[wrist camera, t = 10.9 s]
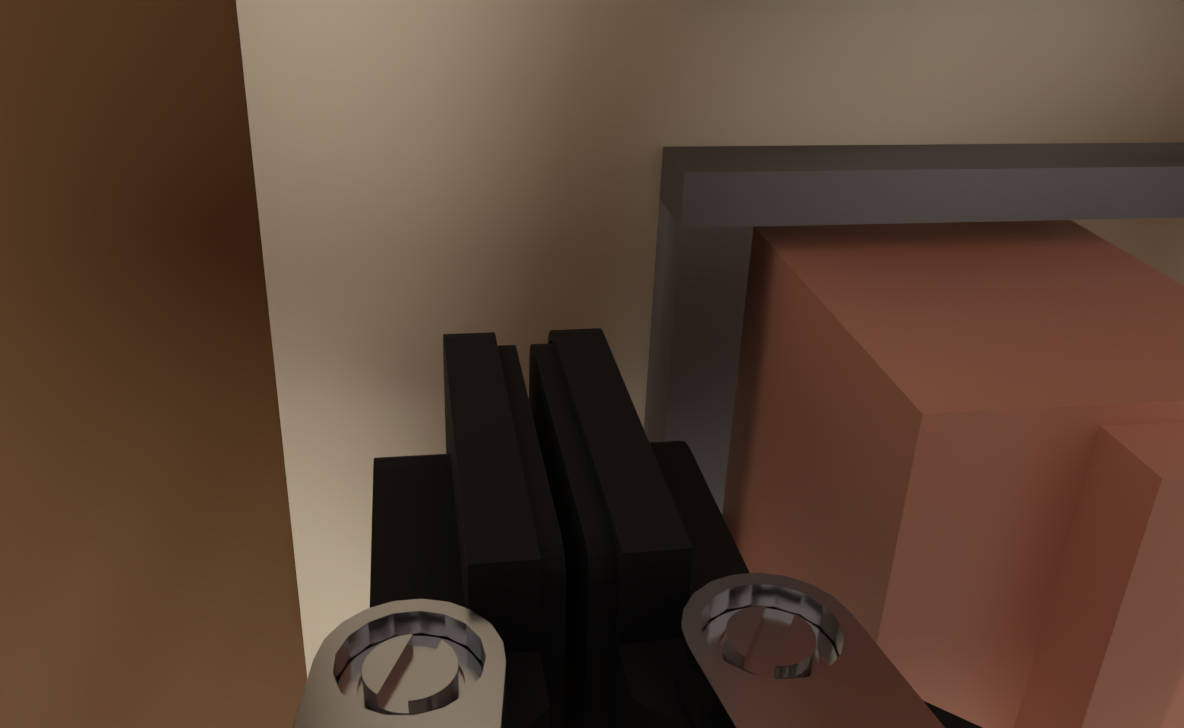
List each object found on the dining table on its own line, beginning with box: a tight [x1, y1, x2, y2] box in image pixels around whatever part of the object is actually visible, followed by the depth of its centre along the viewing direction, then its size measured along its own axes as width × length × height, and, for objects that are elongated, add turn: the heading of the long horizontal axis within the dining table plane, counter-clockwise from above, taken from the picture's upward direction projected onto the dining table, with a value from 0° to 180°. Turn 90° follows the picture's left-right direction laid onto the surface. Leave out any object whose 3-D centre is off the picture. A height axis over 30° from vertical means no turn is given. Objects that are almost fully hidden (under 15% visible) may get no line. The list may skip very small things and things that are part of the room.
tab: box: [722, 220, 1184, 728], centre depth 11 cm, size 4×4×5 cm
